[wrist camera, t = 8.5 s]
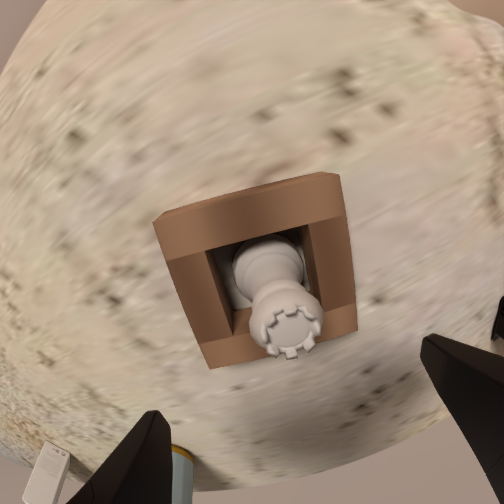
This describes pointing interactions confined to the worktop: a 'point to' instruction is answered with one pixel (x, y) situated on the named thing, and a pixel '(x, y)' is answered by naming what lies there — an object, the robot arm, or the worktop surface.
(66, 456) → the skincare box
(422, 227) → the worktop surface
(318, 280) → the socket
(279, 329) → the rook chess piece
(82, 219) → the worktop surface
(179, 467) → the bottle
